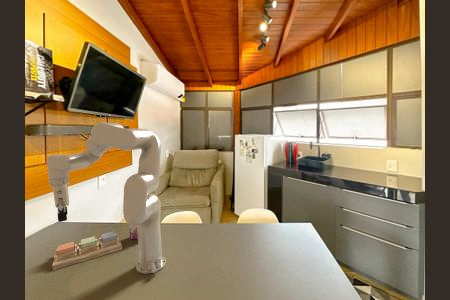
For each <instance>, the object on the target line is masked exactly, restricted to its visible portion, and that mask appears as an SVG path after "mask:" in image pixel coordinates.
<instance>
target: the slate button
mask: <svg viewBox="0 0 450 300" xmlns="http://www.w3.org/2000/svg"><path fill="white" fill-rule="evenodd" d="M115 234H116V233H115V230H114V231H109V232H106V233H102V234H101V237H102V242H103V243H105V242H108V241H112V240H115V239H116V235H115Z"/></svg>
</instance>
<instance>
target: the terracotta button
mask: <svg viewBox="0 0 450 300" xmlns="http://www.w3.org/2000/svg"><path fill="white" fill-rule="evenodd" d="M74 245H75V242H74V241H72V242H71V241H70V242H66V243H64V244H63V243H62V244H60V245H59V244H58V246H57V249H58V255H61V254H65V253H69V252H72V251H74Z"/></svg>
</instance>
